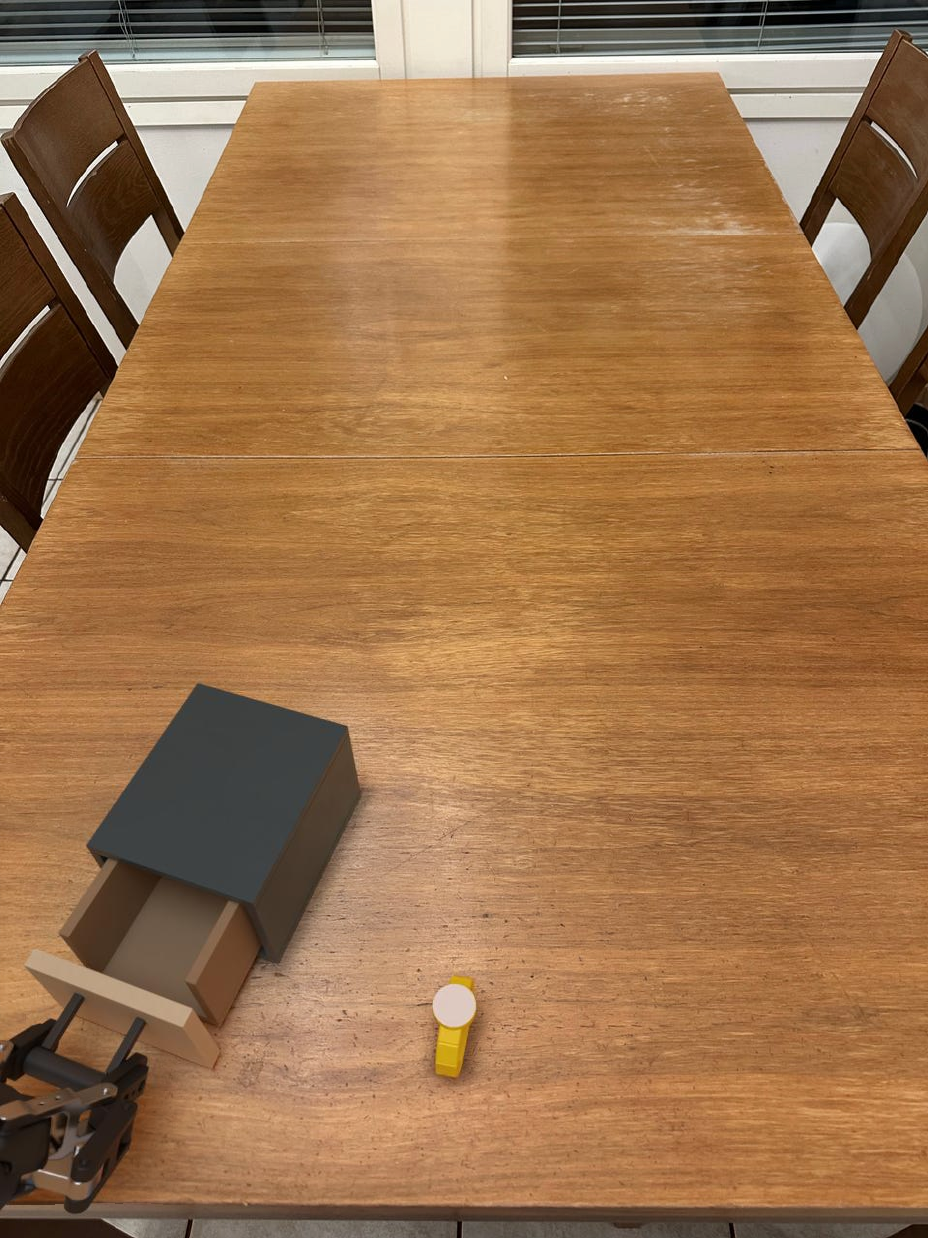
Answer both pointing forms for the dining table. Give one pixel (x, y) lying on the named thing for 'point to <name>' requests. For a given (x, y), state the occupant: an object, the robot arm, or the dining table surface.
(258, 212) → the dining table surface
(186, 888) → the drawer
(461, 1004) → the watch
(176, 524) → the dining table surface
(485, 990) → the dining table surface
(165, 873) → the cabinet
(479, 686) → the dining table surface
